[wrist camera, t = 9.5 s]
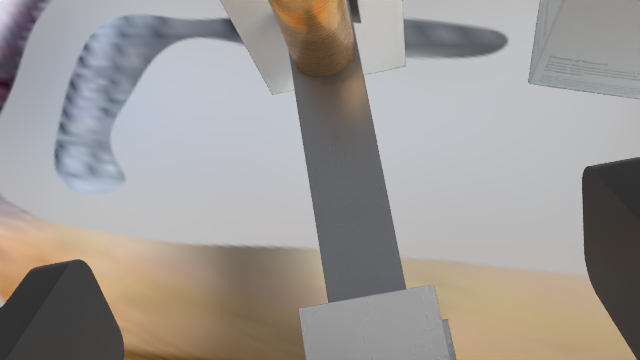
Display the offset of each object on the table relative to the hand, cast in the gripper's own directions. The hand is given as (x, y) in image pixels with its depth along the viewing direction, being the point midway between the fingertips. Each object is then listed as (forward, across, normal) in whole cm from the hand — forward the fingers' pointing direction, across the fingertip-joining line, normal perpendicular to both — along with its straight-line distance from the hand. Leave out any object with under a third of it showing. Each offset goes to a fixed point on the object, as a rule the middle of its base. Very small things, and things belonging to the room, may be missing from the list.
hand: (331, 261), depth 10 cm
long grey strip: (+17, +1, +7) cm, 18 cm away
